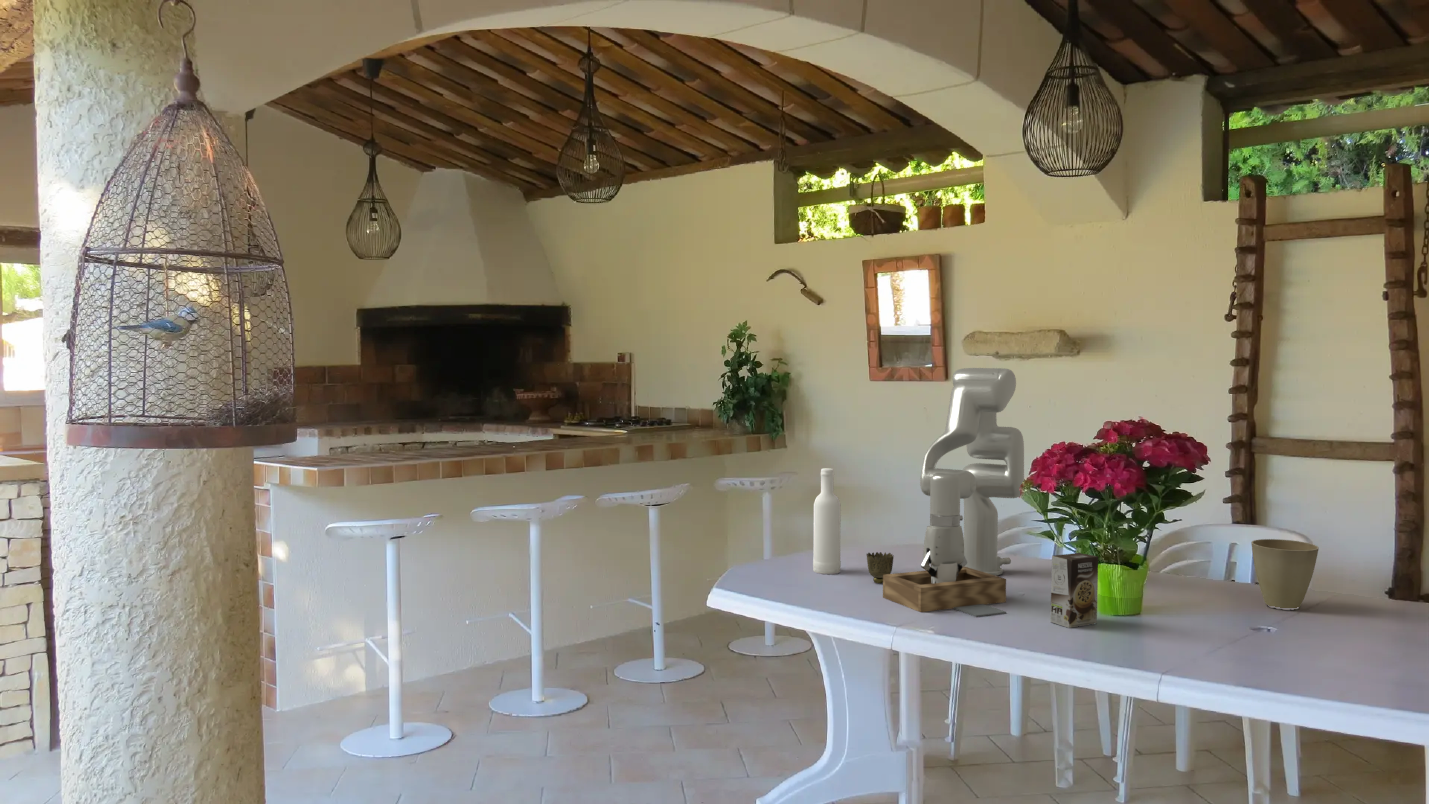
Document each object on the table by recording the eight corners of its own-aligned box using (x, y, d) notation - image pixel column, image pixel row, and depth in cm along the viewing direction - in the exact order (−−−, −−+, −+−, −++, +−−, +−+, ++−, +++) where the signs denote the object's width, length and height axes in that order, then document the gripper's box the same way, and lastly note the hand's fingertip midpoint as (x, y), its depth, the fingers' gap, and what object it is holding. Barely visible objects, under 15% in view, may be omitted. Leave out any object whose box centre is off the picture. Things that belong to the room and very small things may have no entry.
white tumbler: (927, 601, 278) (927, 562, 278) (934, 595, 284) (934, 558, 284) (952, 604, 275) (953, 565, 275) (959, 598, 281) (960, 560, 281)
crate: (964, 588, 293) (965, 566, 292) (1005, 602, 277) (1006, 578, 277) (882, 597, 282) (883, 574, 282) (920, 612, 267) (920, 588, 266)
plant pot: (1241, 607, 271) (1243, 544, 271) (1260, 597, 282) (1261, 536, 281) (1307, 617, 261) (1309, 552, 260) (1324, 607, 272) (1325, 544, 271)
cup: (895, 585, 296) (895, 556, 296) (868, 585, 296) (868, 556, 296) (891, 579, 304) (891, 551, 303) (865, 579, 304) (865, 551, 303)
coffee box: (1069, 628, 251) (1071, 559, 250) (1049, 622, 257) (1050, 554, 256) (1098, 624, 255) (1099, 556, 255) (1077, 618, 261) (1078, 551, 260)
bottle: (821, 567, 320) (822, 466, 319) (845, 570, 316) (846, 468, 314) (808, 572, 314) (808, 469, 312) (831, 575, 309) (832, 471, 308)
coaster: (983, 605, 274) (983, 603, 274) (1006, 613, 265) (1006, 611, 265) (953, 608, 270) (953, 607, 270) (976, 617, 262) (976, 615, 262)
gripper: (962, 517, 285) (961, 585, 286) (909, 521, 279) (908, 591, 280) (980, 521, 279) (979, 591, 280) (926, 525, 272) (925, 597, 273)
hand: (944, 591), depth 280 cm, fingers closed on white tumbler, 3 cm apart
